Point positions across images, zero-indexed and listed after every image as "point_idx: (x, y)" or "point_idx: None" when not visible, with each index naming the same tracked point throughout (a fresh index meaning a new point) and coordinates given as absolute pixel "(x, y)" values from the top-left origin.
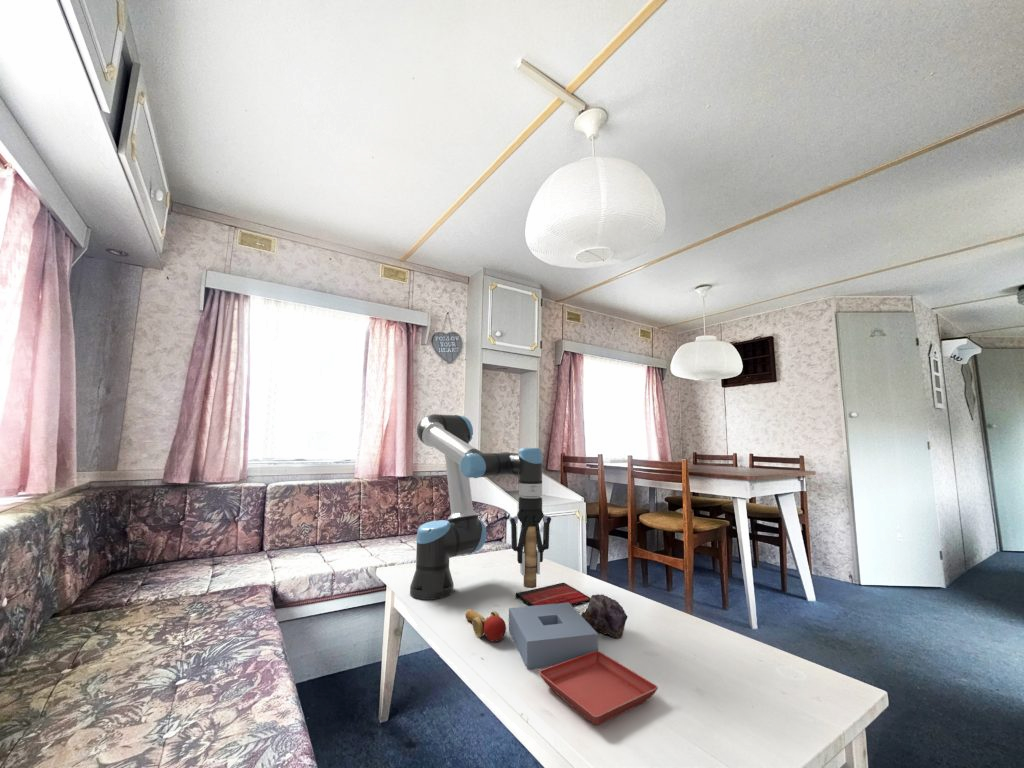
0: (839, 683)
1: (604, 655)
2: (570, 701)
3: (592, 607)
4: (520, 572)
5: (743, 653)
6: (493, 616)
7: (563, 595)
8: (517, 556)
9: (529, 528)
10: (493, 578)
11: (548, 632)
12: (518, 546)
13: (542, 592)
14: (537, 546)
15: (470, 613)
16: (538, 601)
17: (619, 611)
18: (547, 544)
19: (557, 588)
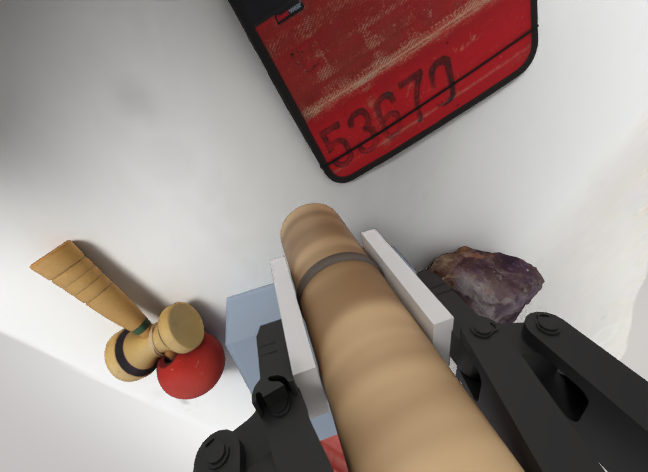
0: (622, 344)
1: None
2: (332, 459)
3: (470, 299)
4: (271, 265)
5: (603, 305)
6: (183, 393)
7: (450, 32)
8: (259, 364)
9: None
10: None
11: (330, 420)
12: (279, 448)
13: None
14: (473, 360)
15: (60, 287)
16: (332, 101)
17: (514, 319)
18: (559, 393)
19: None
